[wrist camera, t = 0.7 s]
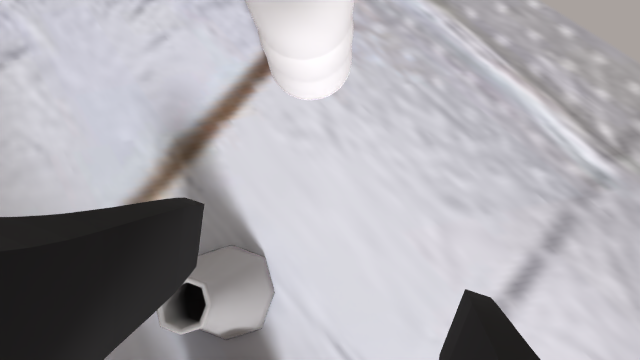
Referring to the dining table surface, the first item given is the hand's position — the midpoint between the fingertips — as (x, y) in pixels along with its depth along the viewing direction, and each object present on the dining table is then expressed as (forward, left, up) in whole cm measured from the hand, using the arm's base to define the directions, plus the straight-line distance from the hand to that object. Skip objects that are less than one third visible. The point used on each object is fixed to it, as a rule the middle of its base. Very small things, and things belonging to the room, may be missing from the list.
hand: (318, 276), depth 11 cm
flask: (-8, +4, -23) cm, 24 cm away
